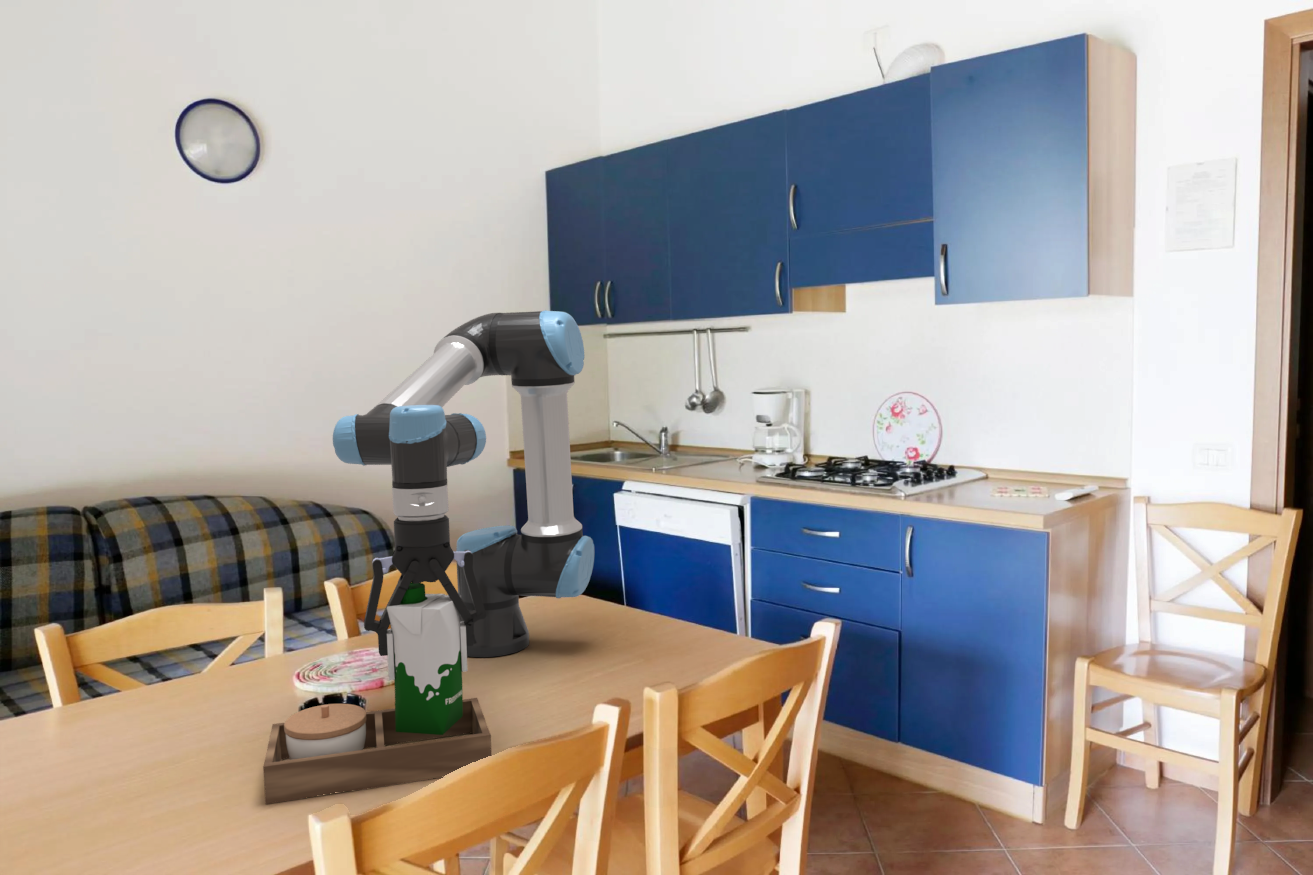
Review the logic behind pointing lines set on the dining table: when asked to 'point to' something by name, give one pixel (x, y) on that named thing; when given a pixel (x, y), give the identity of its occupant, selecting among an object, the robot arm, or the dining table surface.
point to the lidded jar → (325, 730)
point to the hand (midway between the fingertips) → (428, 672)
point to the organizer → (376, 757)
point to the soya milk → (426, 662)
